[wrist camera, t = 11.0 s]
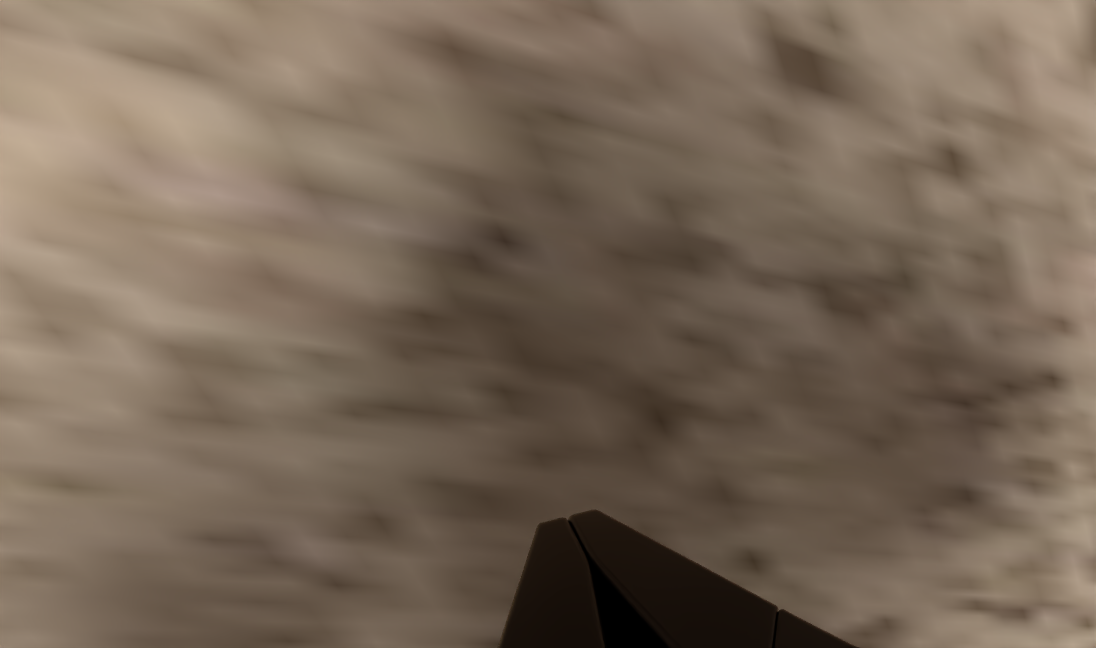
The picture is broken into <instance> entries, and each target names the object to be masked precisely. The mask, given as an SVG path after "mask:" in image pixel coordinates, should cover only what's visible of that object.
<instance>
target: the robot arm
mask: <svg viewBox="0 0 1096 648" xmlns="http://www.w3.org/2000/svg"><path fill="white" fill-rule="evenodd" d="M498 648H859V647H856V646H854V645H852V644H850V643H848V642H846V641H844V640H842V639H840V638H838V637H836V636H834V635H832V634H830V633H828V632H826V631H824V630H822V629H820V628H818V627H816V626H814V625H812V624H810V623H808V622H806V621H804V620H803V619H801V618H799V617H797V616H795V615H793V614H791V613H789V612H788V611H786V610H784V609H781V610H779V609H778V607H777V606H776V605H774V604H772V603H770V602H768V601H767V600H765V599H763V598H761V597H759V596H757V595H755V594H753V593H752V592H750V591H748V590H746V589H744V588H742V587H740V586H738V585H737V584H735V583H733V582H731V581H729V580H727V579H725V578H724V577H722V576H720V575H718V574H716V573H714V572H712V571H710V570H709V569H707V568H705V567H703V566H701V565H699V564H697V563H696V562H694V561H692V560H690V559H688V558H686V557H684V556H682V555H681V554H679V553H677V552H675V551H673V550H671V549H669V548H668V547H666V546H664V545H662V544H660V543H658V542H656V541H654V540H653V539H651V538H649V537H647V536H645V535H643V534H641V533H639V532H638V531H636V530H634V529H632V528H630V527H628V526H626V525H625V524H623V523H621V522H619V521H617V520H615V519H613V518H611V517H610V516H608V515H606V514H604V513H602V512H600V511H598V510H590V511H586V512H582V513H579V514H575V515H572V516H570V517H569V520H567V519H566V518H559V519H555V520H551V521H547V522H543V523H540V524H539V525H538V526H537V529H536V532H535V535H534V538H533V541H532V544H531V547H530V550H529V553H528V557H527V560H526V563H525V566H524V569H523V572H522V575H521V578H520V581H519V584H518V587H517V590H516V593H515V596H514V600H513V603H512V606H511V609H510V612H509V615H508V618H507V621H506V624H505V627H504V630H503V633H502V636H501V640H500V643H499V646H498Z"/></svg>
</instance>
